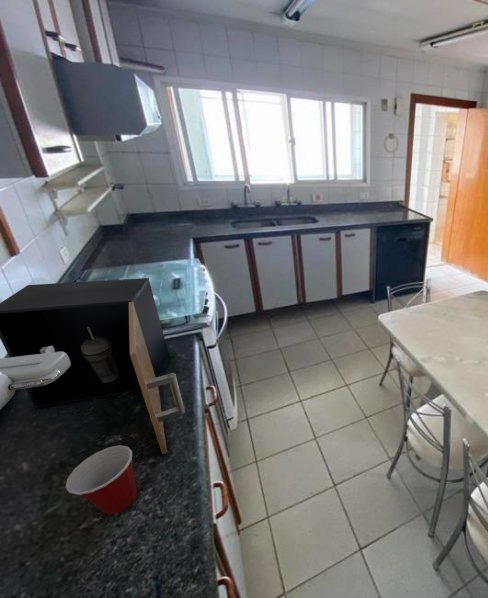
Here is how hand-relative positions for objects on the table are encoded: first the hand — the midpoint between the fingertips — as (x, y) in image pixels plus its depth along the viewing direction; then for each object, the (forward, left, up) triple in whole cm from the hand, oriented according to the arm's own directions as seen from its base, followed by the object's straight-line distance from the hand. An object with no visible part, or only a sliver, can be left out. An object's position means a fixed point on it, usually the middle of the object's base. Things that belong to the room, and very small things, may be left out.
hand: (21, 352), depth 71 cm
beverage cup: (0, +29, -29) cm, 41 cm away
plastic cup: (+16, -20, -30) cm, 39 cm away
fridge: (0, +29, -30) cm, 42 cm away
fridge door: (+21, +6, -30) cm, 37 cm away
